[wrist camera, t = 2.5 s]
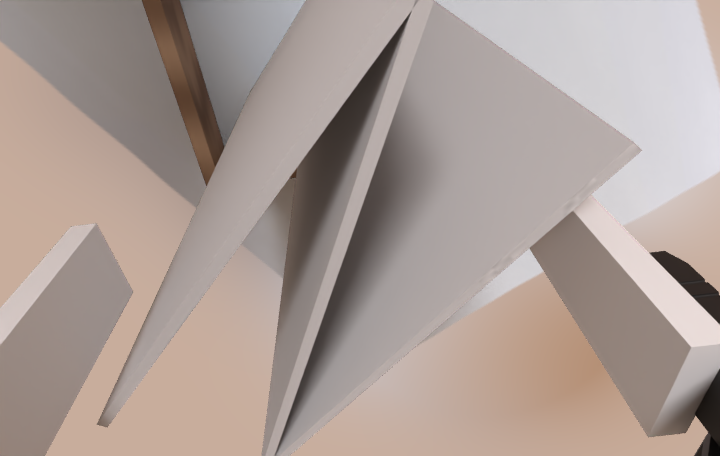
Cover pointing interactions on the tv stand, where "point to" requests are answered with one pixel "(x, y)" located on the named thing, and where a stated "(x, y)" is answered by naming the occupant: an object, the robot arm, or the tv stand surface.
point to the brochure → (379, 195)
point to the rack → (187, 81)
